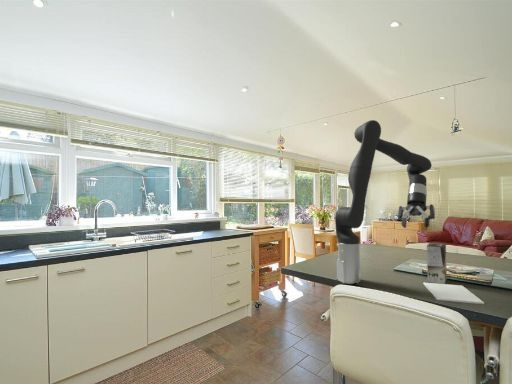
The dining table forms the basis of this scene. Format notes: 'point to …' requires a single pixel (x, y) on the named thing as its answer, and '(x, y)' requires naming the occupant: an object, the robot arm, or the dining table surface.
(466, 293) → the white flat rectangular board
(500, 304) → the dining table surface
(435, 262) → the coffee box
